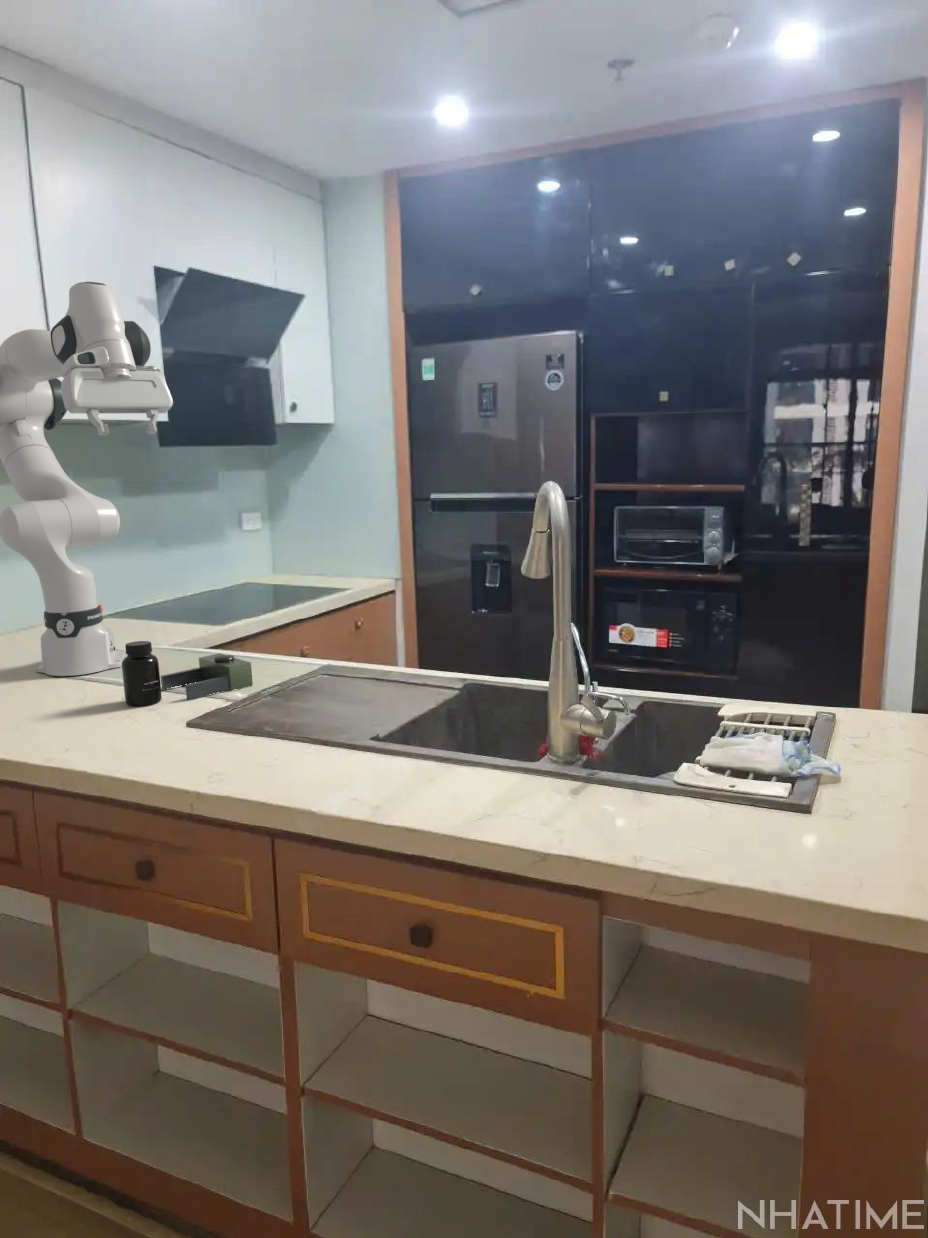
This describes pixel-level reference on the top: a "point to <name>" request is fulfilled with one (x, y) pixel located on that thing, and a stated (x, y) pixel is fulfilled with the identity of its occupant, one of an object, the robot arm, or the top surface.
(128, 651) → the supplement bottle
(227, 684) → the chute bracket
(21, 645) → the top surface
